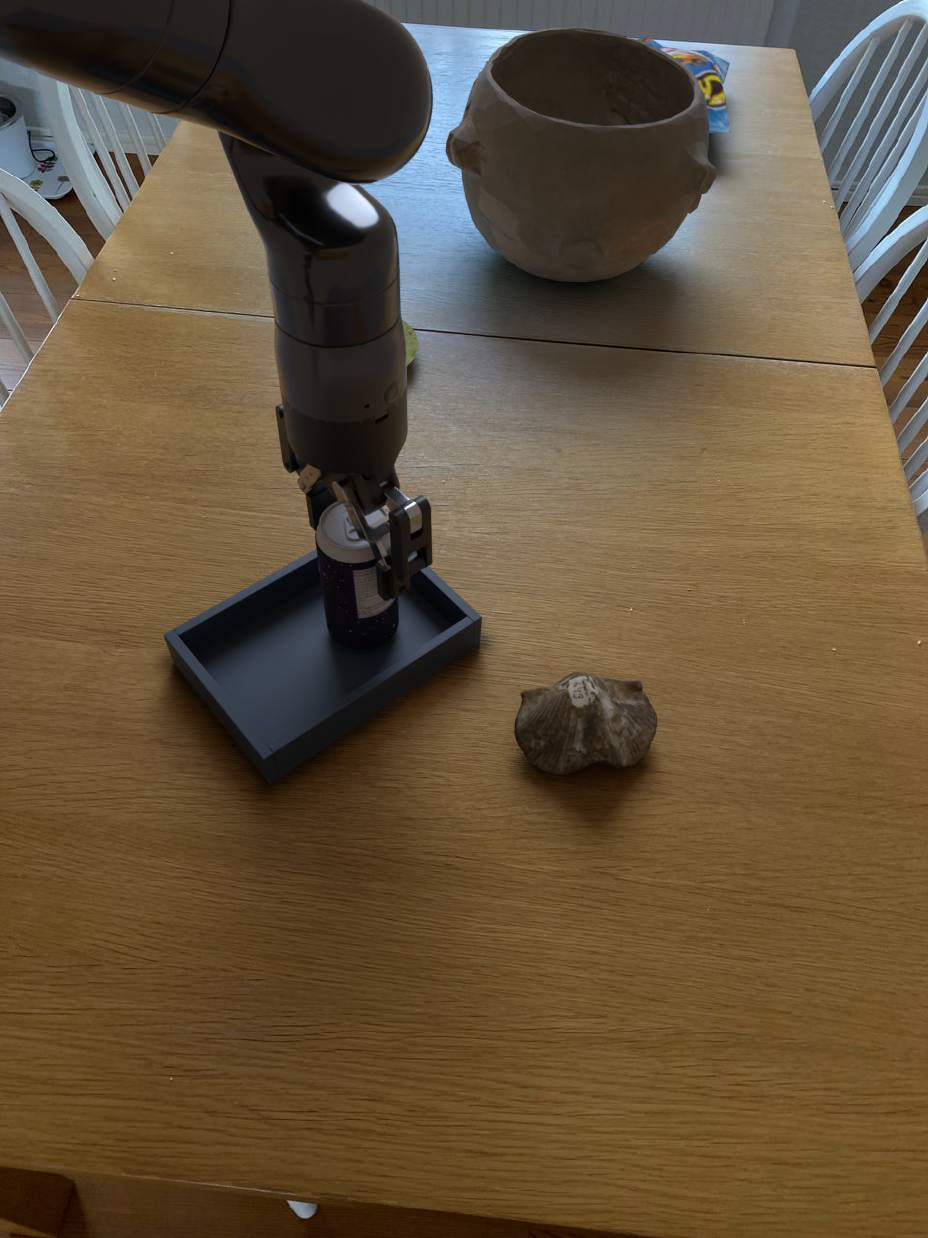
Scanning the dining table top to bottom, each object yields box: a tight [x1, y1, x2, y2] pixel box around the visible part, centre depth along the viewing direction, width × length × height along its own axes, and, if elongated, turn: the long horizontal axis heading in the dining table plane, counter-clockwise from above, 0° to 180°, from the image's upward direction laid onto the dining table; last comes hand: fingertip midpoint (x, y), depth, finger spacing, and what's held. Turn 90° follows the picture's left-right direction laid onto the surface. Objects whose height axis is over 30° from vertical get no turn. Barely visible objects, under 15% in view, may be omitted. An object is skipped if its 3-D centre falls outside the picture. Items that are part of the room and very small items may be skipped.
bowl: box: [445, 26, 717, 283], centre depth 103 cm, size 27×29×20 cm
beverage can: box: [314, 501, 399, 649], centre depth 71 cm, size 6×6×12 cm
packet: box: [635, 35, 731, 135], centre depth 128 cm, size 17×24×8 cm
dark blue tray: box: [163, 548, 483, 785], centre depth 74 cm, size 20×14×4 cm
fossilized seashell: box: [513, 671, 658, 776], centre depth 69 cm, size 8×7×10 cm
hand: (358, 558), depth 70 cm, fingers open, 8 cm apart
